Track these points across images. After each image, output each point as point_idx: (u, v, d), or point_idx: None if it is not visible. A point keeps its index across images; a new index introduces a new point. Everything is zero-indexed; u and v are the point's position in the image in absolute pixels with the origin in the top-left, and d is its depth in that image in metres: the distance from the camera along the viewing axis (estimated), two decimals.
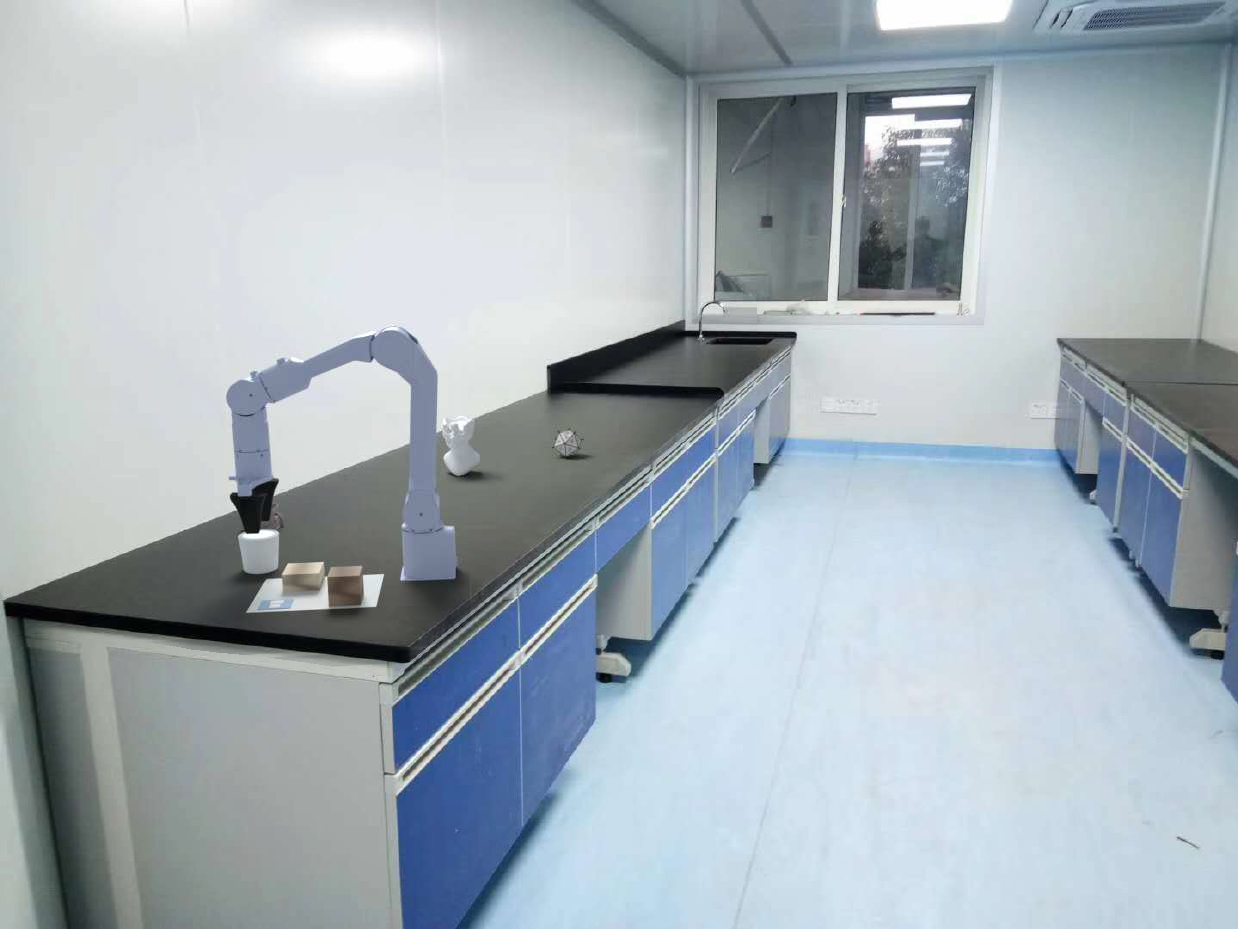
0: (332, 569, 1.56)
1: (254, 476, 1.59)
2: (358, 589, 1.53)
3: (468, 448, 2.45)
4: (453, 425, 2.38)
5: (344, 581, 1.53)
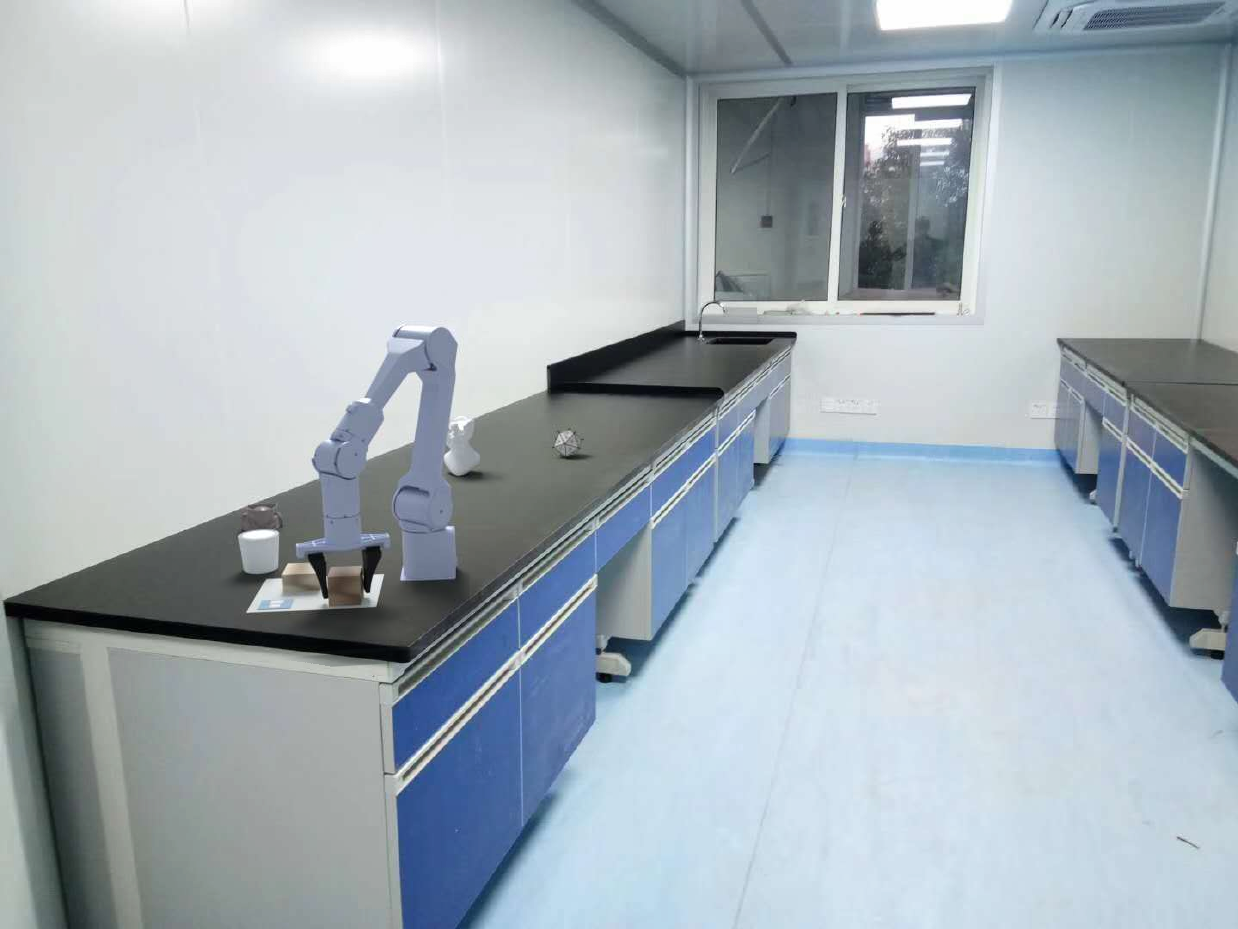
0: (332, 569, 1.56)
1: (326, 541, 1.52)
2: (358, 589, 1.53)
3: (468, 448, 2.45)
4: (453, 425, 2.38)
5: (344, 581, 1.53)
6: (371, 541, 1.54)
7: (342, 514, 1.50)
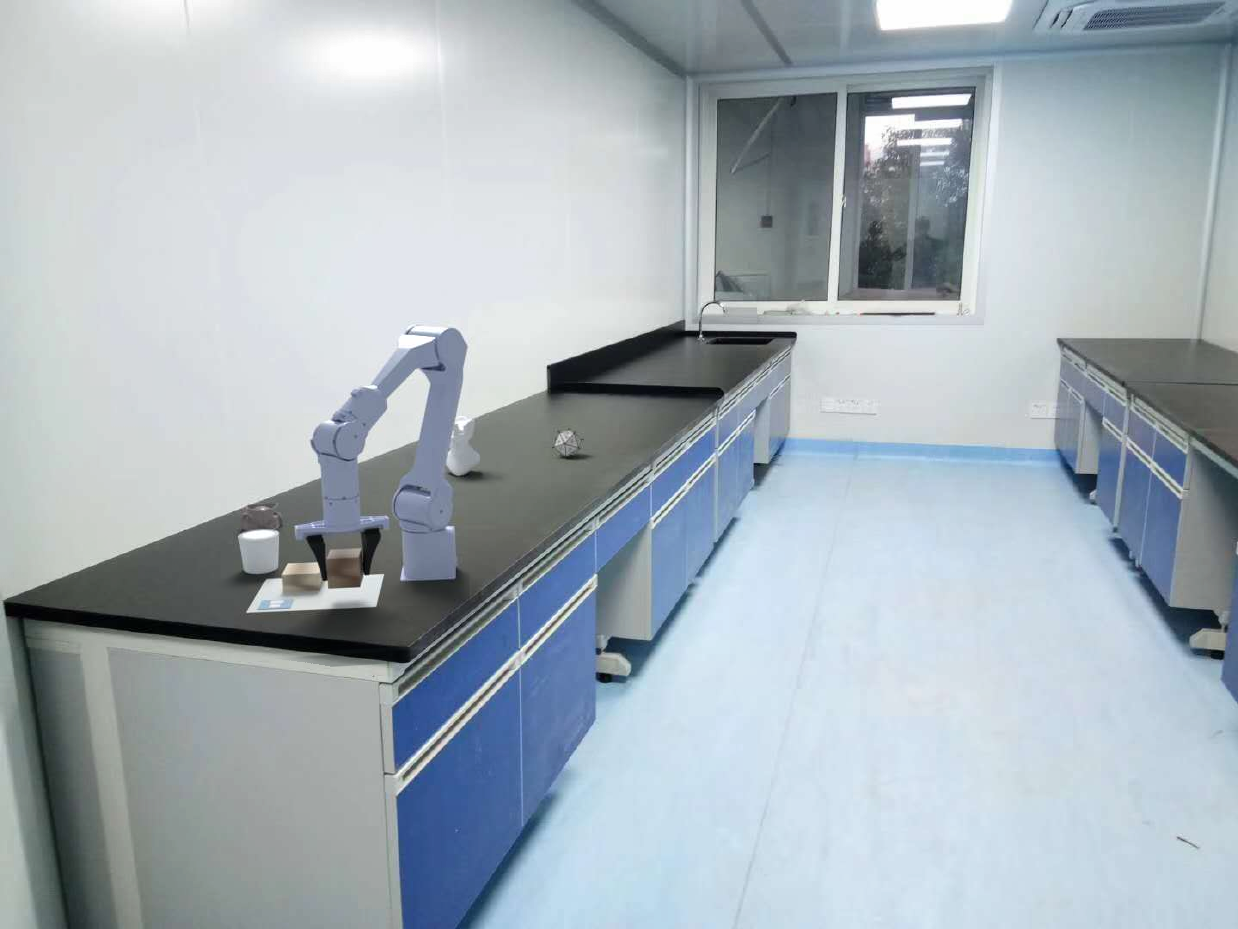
0: (331, 551, 1.55)
1: (325, 523, 1.51)
2: (357, 571, 1.53)
3: (468, 448, 2.45)
4: None
5: (343, 563, 1.52)
6: (370, 523, 1.53)
7: (341, 495, 1.49)
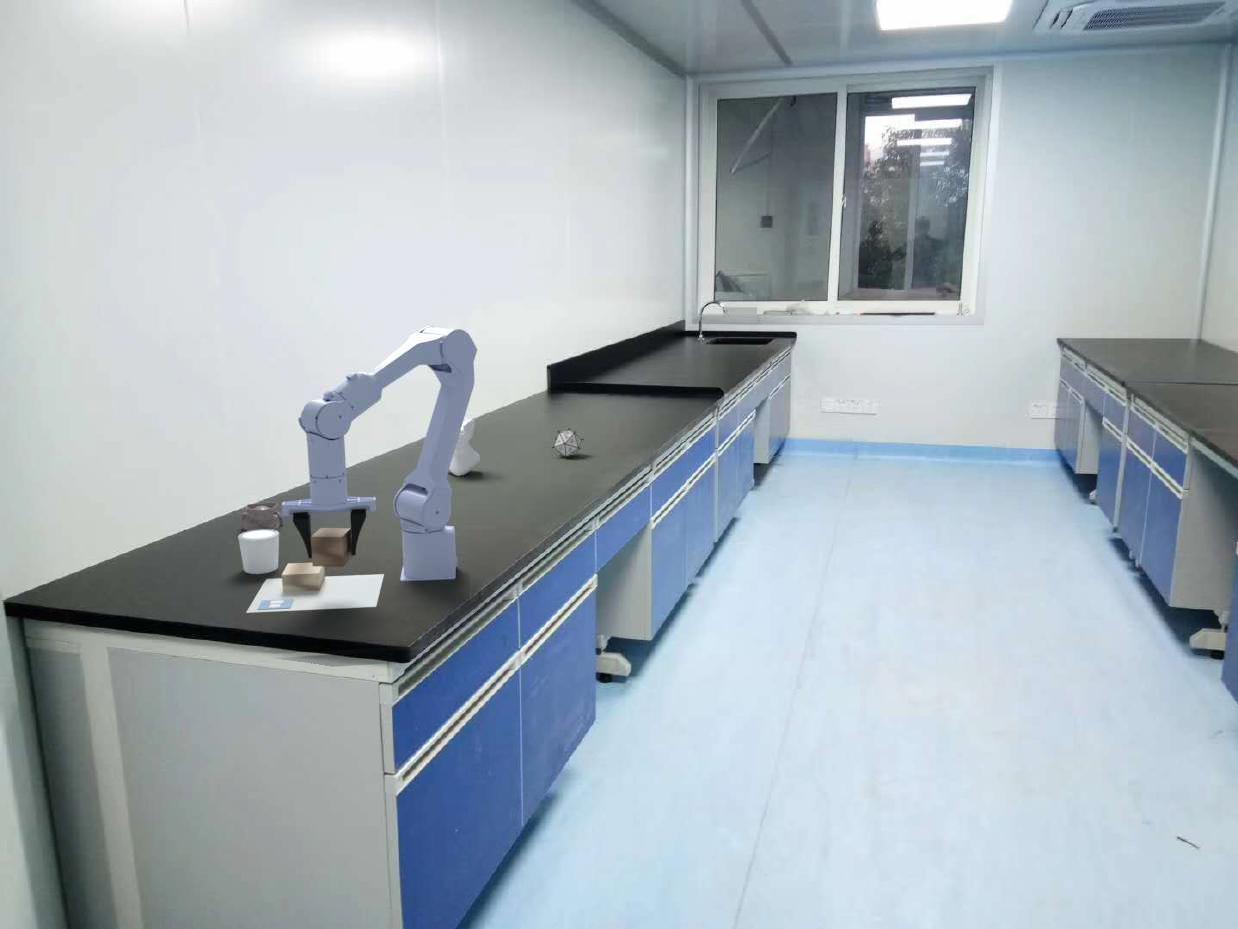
0: (321, 529, 1.57)
1: (311, 501, 1.53)
2: (340, 550, 1.53)
3: (467, 448, 2.45)
4: None
5: (327, 542, 1.53)
6: (355, 503, 1.54)
7: (324, 474, 1.50)
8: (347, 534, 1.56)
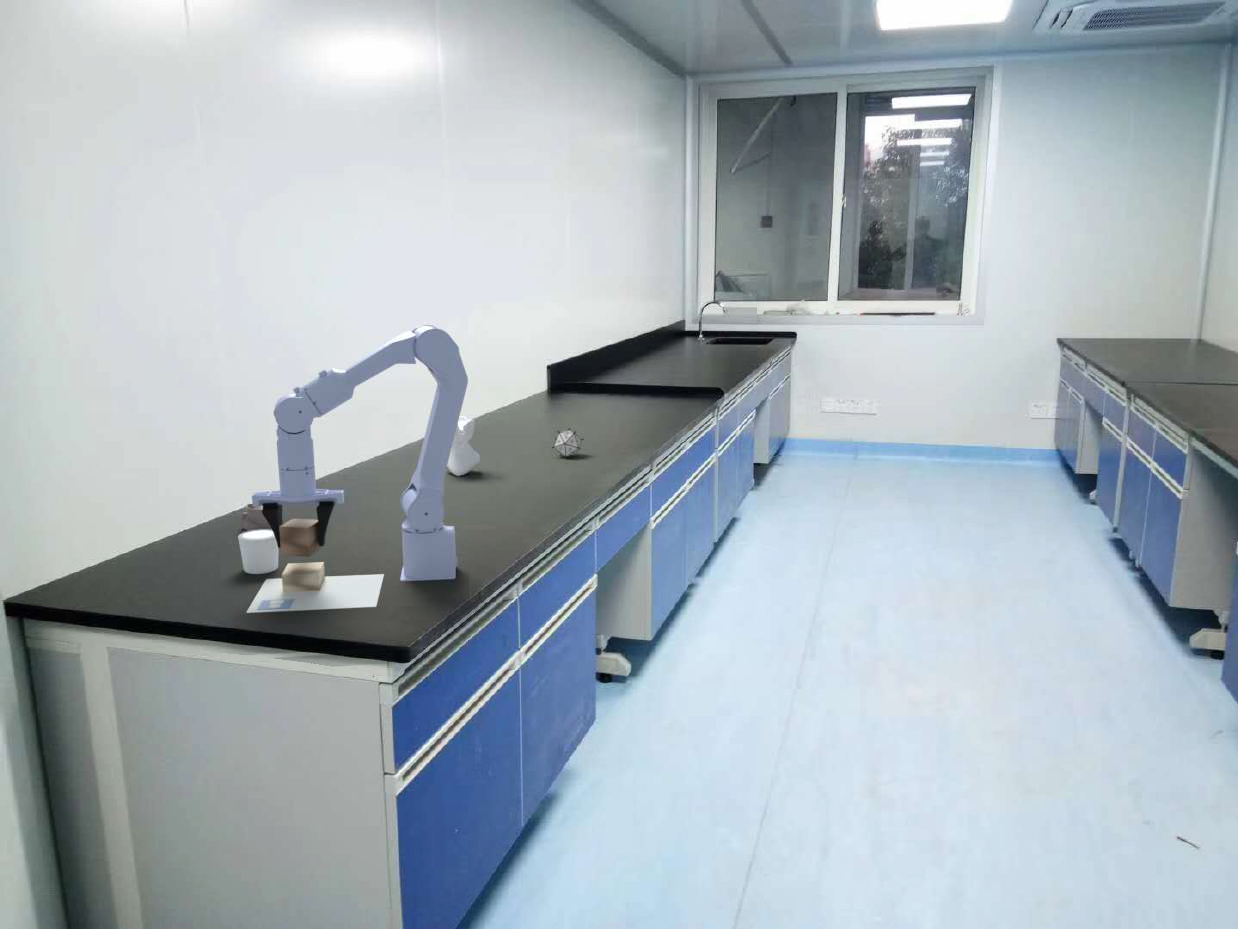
0: (292, 520, 1.62)
1: (280, 492, 1.58)
2: (307, 541, 1.58)
3: (468, 448, 2.45)
4: None
5: (294, 532, 1.58)
6: (322, 495, 1.58)
7: (285, 466, 1.56)
8: (315, 525, 1.61)
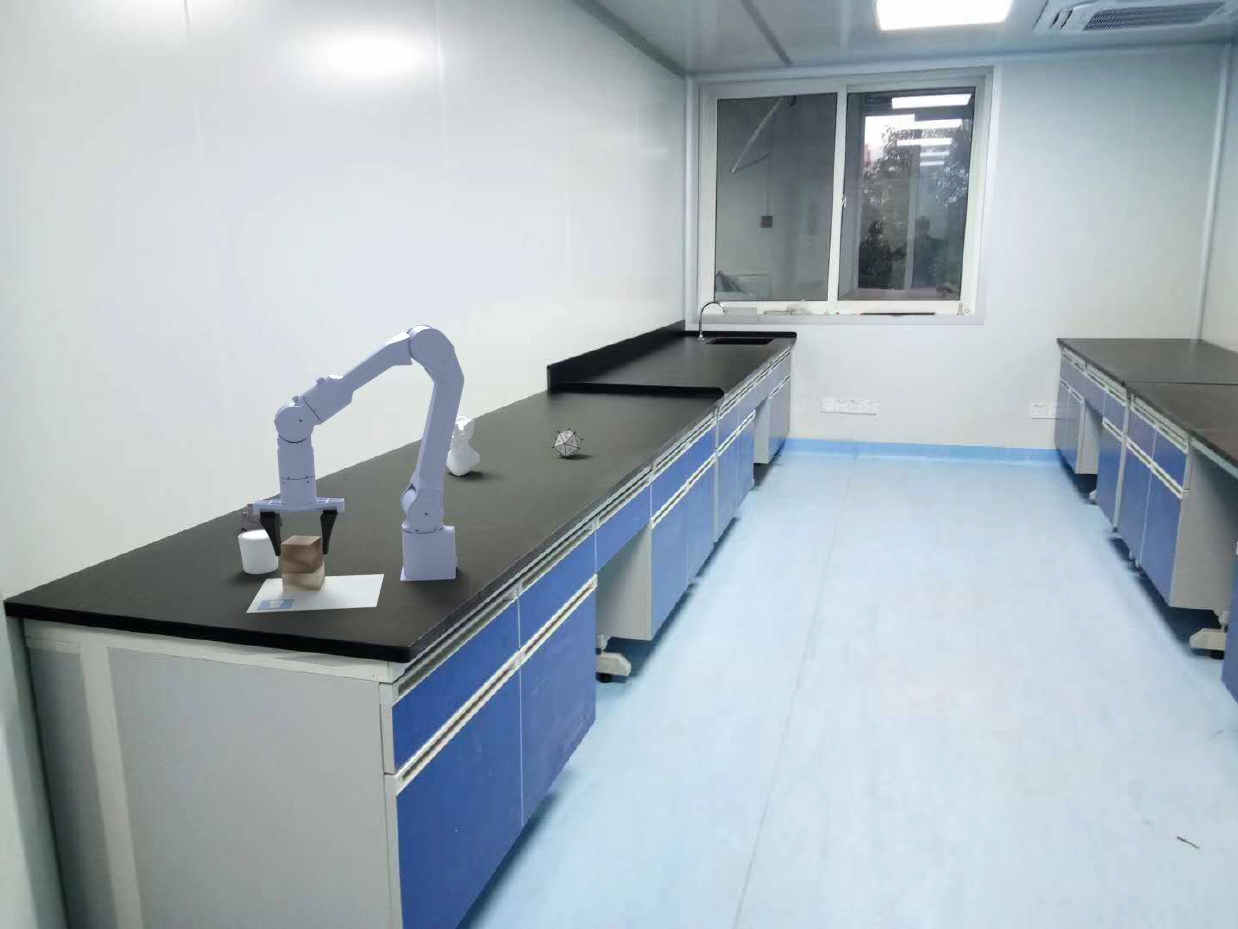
0: (292, 537, 1.63)
1: (280, 501, 1.58)
2: (308, 558, 1.59)
3: (468, 448, 2.45)
4: None
5: (296, 549, 1.59)
6: (323, 504, 1.59)
7: (286, 475, 1.56)
8: (316, 542, 1.61)
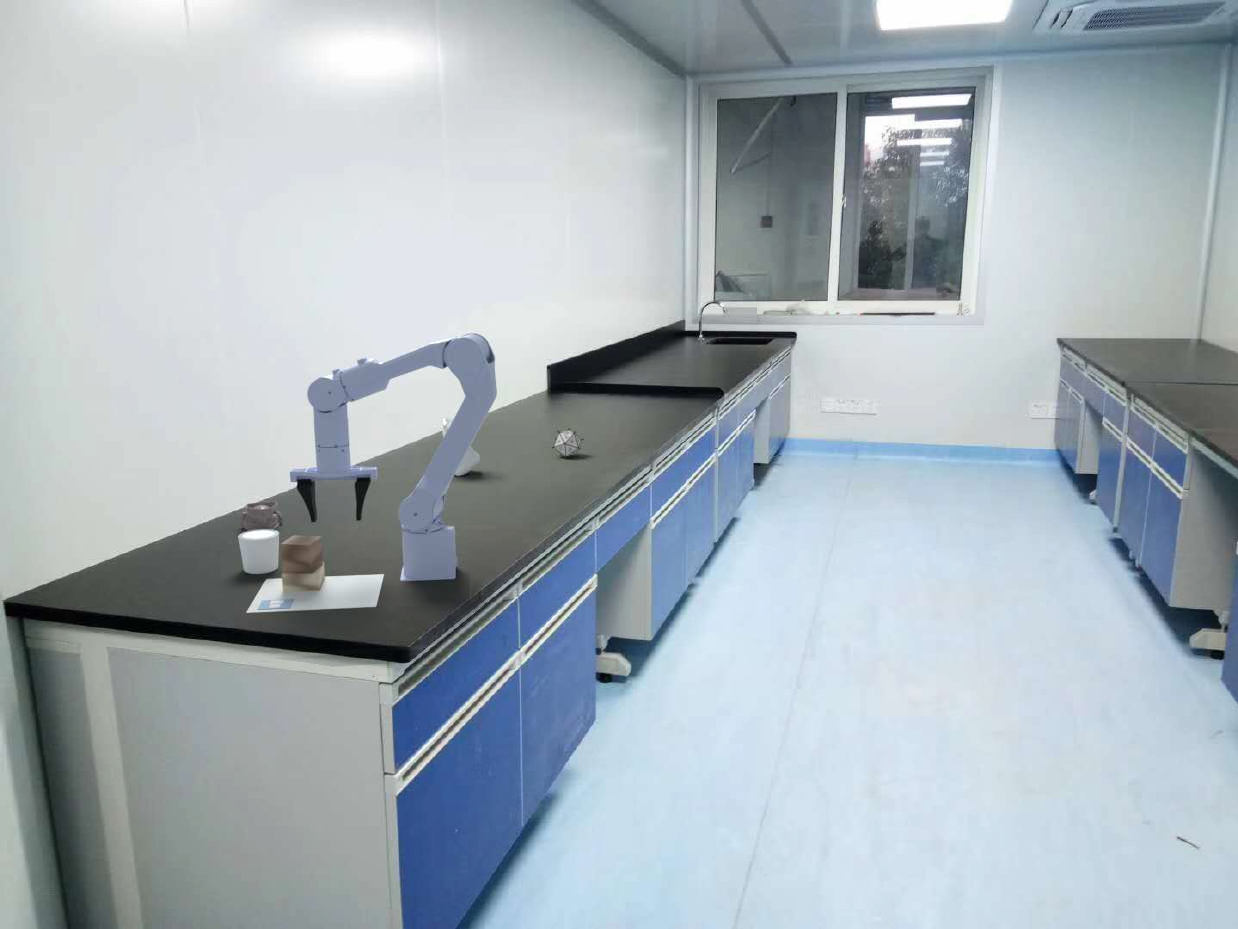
0: (292, 537, 1.63)
1: (316, 468, 1.65)
2: (308, 558, 1.59)
3: None
4: None
5: (296, 549, 1.59)
6: (357, 472, 1.65)
7: (317, 443, 1.63)
8: (316, 542, 1.61)
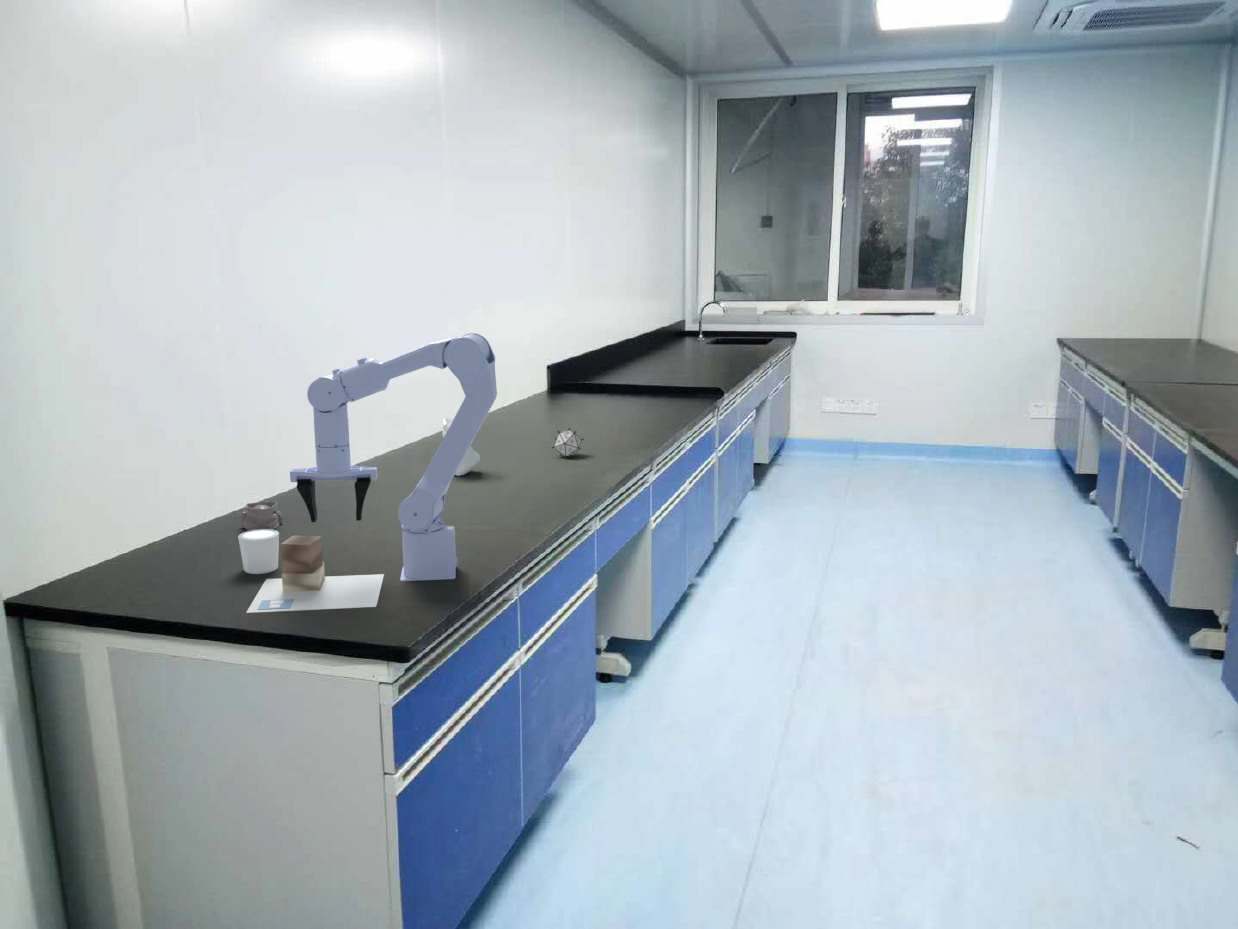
0: (292, 537, 1.63)
1: (316, 468, 1.65)
2: (308, 558, 1.59)
3: None
4: None
5: (296, 549, 1.59)
6: (357, 472, 1.65)
7: (318, 443, 1.63)
8: (316, 542, 1.61)
